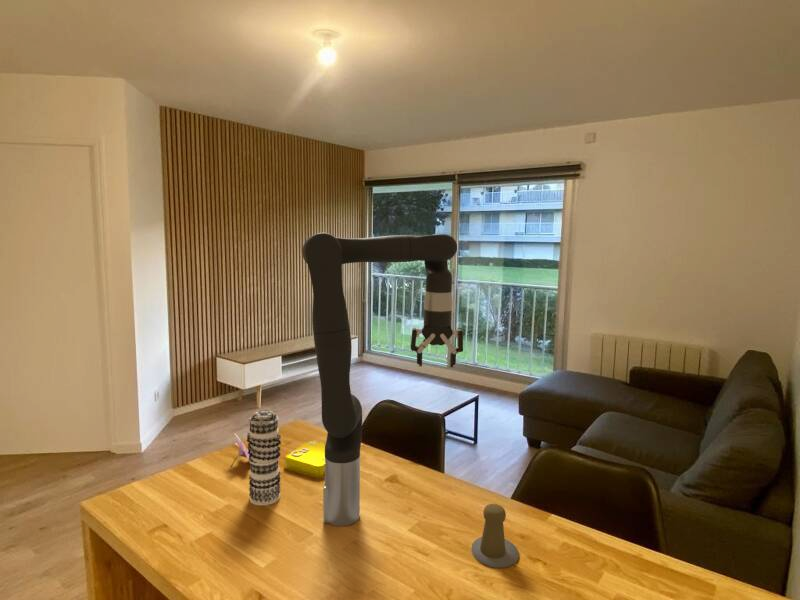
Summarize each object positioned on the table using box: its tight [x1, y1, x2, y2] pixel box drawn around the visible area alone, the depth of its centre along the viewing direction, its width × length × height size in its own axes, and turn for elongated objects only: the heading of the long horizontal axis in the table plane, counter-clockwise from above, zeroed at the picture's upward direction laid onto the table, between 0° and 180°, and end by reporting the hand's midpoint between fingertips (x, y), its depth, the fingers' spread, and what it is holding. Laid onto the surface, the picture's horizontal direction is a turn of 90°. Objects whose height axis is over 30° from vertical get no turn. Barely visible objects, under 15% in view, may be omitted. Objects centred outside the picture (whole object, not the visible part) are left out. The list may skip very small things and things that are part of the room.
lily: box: [230, 433, 251, 468], centre depth 155 cm, size 12×12×10 cm
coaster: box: [471, 536, 519, 569], centre depth 114 cm, size 11×11×1 cm
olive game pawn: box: [480, 503, 507, 558], centre depth 113 cm, size 6×6×11 cm
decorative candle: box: [246, 409, 282, 507], centre depth 134 cm, size 9×9×25 cm
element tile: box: [284, 440, 326, 479], centre depth 157 cm, size 15×15×5 cm
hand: (436, 366), depth 131 cm, fingers open, 8 cm apart
